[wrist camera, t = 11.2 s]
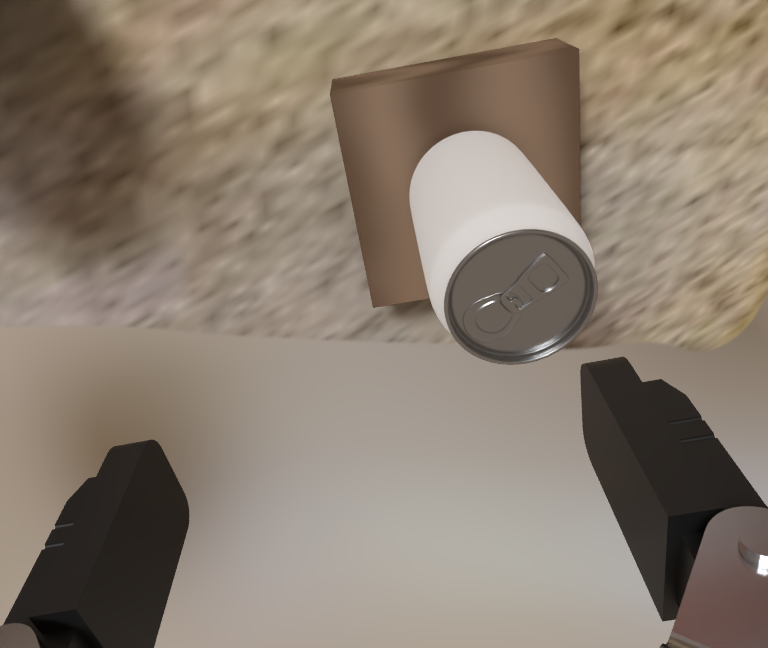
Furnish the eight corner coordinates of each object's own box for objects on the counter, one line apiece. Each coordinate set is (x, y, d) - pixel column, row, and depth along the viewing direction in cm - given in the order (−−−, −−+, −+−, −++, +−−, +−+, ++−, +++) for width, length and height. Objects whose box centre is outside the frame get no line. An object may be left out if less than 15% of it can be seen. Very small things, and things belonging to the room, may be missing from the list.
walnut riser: (556, 38, 33) (579, 49, 30) (561, 245, 40) (580, 273, 36) (332, 79, 34) (330, 94, 31) (371, 276, 40) (373, 307, 37)
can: (382, 191, 33) (395, 303, 23) (476, 99, 31) (537, 179, 21) (463, 268, 36) (507, 401, 25) (555, 189, 34) (644, 299, 23)
